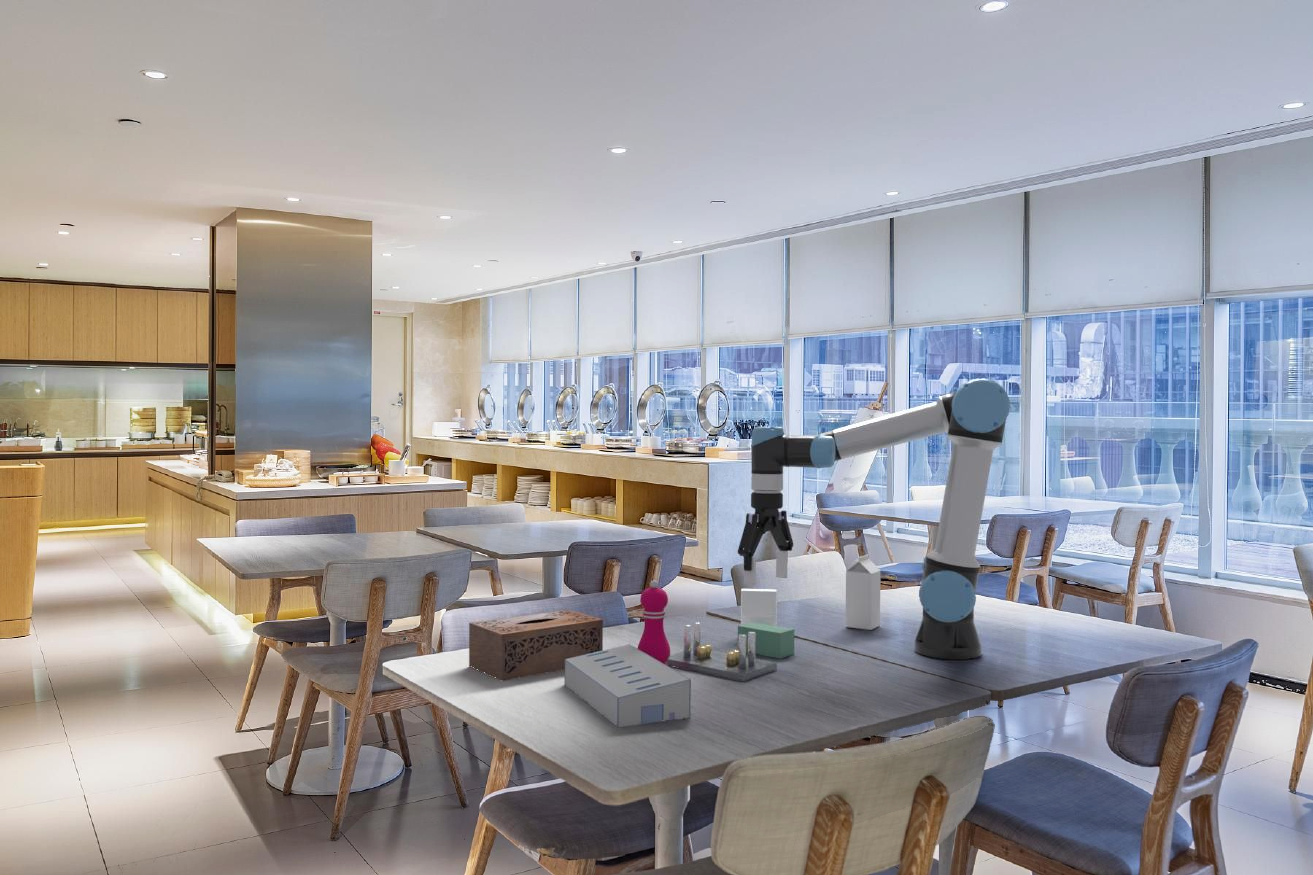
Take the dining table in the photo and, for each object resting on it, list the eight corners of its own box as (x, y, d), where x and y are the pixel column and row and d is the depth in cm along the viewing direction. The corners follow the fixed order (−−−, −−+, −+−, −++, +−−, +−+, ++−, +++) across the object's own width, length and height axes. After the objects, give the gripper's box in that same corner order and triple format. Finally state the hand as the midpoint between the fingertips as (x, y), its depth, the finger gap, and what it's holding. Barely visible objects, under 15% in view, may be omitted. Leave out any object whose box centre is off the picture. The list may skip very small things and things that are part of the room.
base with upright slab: (776, 633, 249) (776, 587, 248) (776, 641, 240) (777, 593, 239) (740, 632, 249) (741, 586, 249) (740, 640, 241) (740, 592, 240)
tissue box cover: (567, 651, 229) (567, 609, 229) (602, 663, 218) (602, 619, 218) (469, 667, 213) (469, 622, 213) (501, 682, 202) (501, 634, 202)
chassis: (776, 669, 212) (777, 631, 212) (743, 681, 202) (743, 641, 202) (696, 653, 226) (697, 617, 226) (661, 664, 216) (662, 626, 216)
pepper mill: (646, 678, 204) (646, 584, 204) (631, 670, 211) (631, 578, 211) (676, 674, 208) (676, 581, 208) (660, 666, 214) (661, 576, 214)
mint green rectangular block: (794, 654, 227) (794, 629, 227) (780, 659, 223) (780, 633, 223) (751, 646, 235) (752, 621, 235) (737, 650, 231) (737, 625, 230)
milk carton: (880, 626, 259) (880, 555, 259) (870, 630, 253) (871, 558, 253) (854, 622, 263) (855, 553, 263) (845, 627, 257) (845, 556, 257)
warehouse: (564, 686, 199) (564, 649, 199) (629, 679, 205) (629, 644, 205) (617, 729, 172) (617, 686, 171) (690, 720, 177) (690, 679, 177)
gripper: (782, 488, 241) (781, 573, 241) (723, 493, 222) (722, 585, 222) (808, 489, 236) (807, 576, 236) (750, 495, 217) (749, 589, 217)
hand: (766, 581), depth 229 cm, fingers open, 13 cm apart
